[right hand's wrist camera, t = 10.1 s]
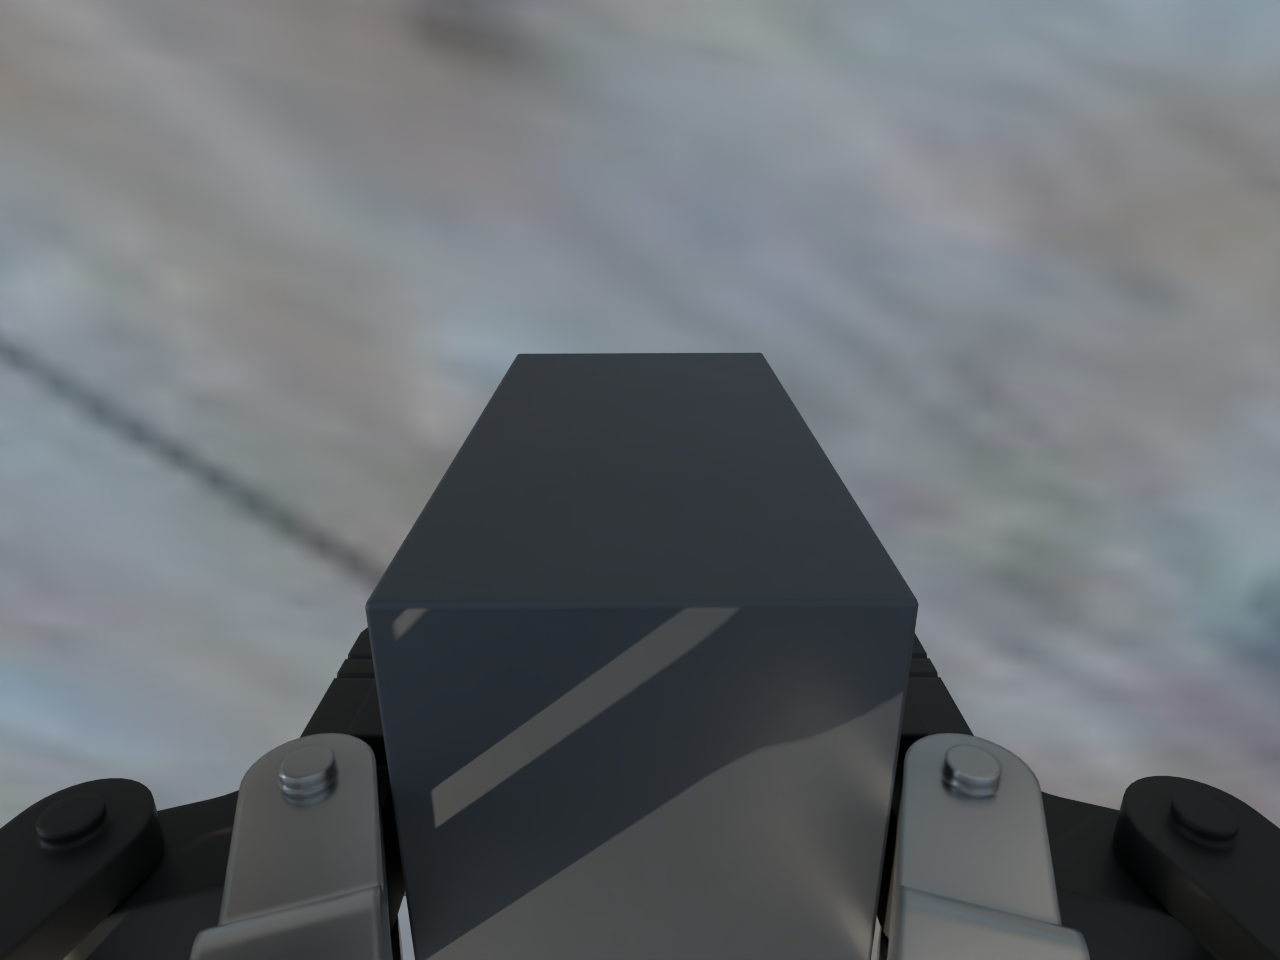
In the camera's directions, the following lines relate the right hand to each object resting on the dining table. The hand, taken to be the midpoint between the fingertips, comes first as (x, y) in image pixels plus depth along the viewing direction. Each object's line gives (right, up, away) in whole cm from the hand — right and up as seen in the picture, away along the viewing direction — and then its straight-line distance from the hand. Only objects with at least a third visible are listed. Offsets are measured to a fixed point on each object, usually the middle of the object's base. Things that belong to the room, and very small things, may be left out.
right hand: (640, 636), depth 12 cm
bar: (0, -8, +9) cm, 12 cm away
